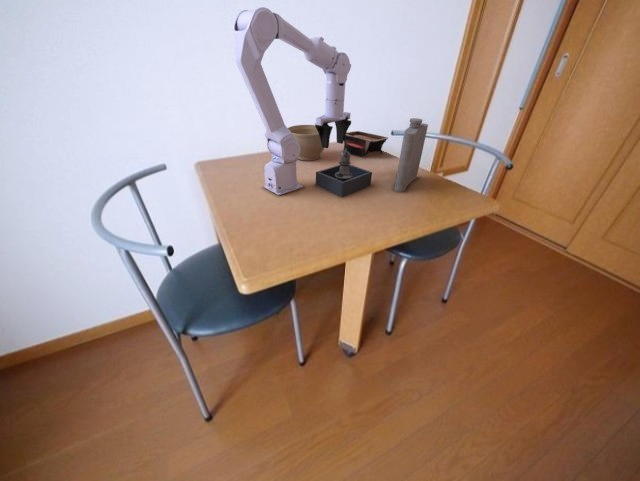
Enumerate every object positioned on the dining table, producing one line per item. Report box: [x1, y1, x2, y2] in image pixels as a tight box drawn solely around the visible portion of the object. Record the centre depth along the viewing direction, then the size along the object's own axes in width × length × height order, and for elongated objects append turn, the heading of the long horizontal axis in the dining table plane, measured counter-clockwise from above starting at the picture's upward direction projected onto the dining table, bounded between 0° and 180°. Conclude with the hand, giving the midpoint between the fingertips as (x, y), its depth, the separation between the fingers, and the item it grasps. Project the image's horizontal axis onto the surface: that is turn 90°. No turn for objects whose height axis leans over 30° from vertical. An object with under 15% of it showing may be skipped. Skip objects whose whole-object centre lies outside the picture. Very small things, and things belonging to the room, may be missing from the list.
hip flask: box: [393, 117, 429, 193], centre depth 89 cm, size 16×4×20 cm, turn 148°
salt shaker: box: [335, 148, 353, 181], centre depth 89 cm, size 6×6×12 cm
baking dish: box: [343, 130, 389, 158], centre depth 120 cm, size 14×18×10 cm
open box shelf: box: [315, 164, 373, 198], centre depth 91 cm, size 14×12×4 cm
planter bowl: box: [287, 124, 325, 161], centre depth 112 cm, size 16×16×11 cm
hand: (332, 145), depth 94 cm, fingers open, 7 cm apart
